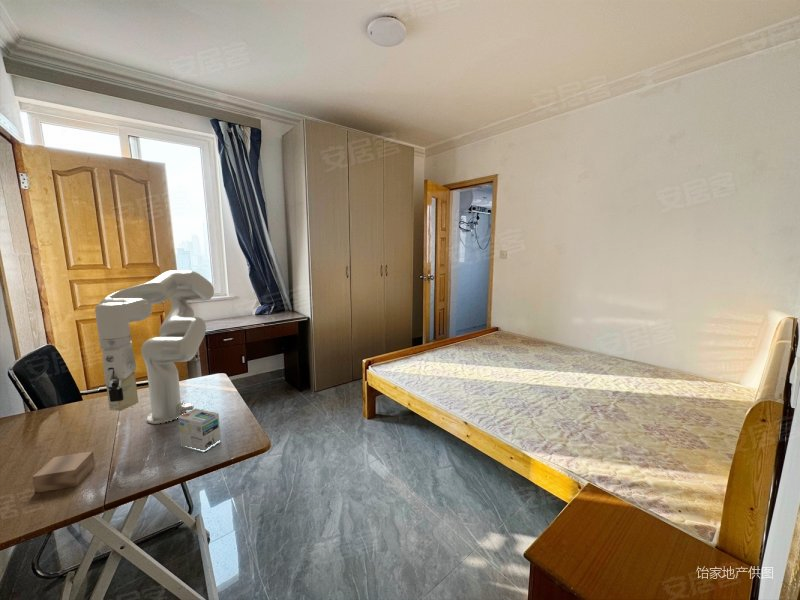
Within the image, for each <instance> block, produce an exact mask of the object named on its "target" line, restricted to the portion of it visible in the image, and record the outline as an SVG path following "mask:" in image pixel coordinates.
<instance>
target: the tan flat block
mask: <svg viewBox="0 0 800 600" xmlns="http://www.w3.org/2000/svg"><path fill="white" fill-rule="evenodd" d="M94 455H95V454H94V451H86V452H79V453H72V454H64V455H60V456H59V455H58V456H54V457H53V458H51V459H50V460H49V461H48V462H47V463H46V464H45V465H44V466H43V467H41V468H40V469H39V470H38V471H36V472H35V474H34V475H33V476H32V484H33V489H34V493H35V492H38V493H43V492H49V491H53V490H54V491H55V490H60V489H65V488H72V487H77V486H79V484H80V483H82V482H83V480H84V479H85V478H86V477H87V475H88V474H89V473H90V472H91V471H92V470H93V469H94V468H95V467H96V463H95V457H94Z"/></svg>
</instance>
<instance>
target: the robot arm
mask: <svg viewBox="0 0 800 600" xmlns="http://www.w3.org/2000/svg"><path fill="white" fill-rule="evenodd" d="M214 292H215V289H214V287H213V284H212V282H211V281H209V280H208V279H206V278H205V277H204V276H203V275H201V274H199V273H198V272H196V271H193V270H167V271H164V272H163V273H160V274H158V275H157V276H155V277H154V278H152V279H150V280H149V281H147V282H145V283H141V284H137V285H133V286H130V287H127V288H126V287H125V288H123V289H119V290H117V291H115V292H113V293H111V294H109V295H107V296H106V297H104V298H103V299H102V300H100V302H99V303H98V304H97V305H96V306H95V308H94V311H95V312H94V314H95V320H96V327H97V335H98V341H99V342H98V343H99V348H100V350H102V369H103V375H104V379H105V380H104V384H105V385H106V386H107V387H108V390H109V396H110V401H111V402H115V401H122V400H123V399H124V398H123V391H122V388H120V387H121V379H122V380H124V379H126V378H127V377H128V376H129V375H131V374H132V368H134V371H136V369H137V363H136V360H135V359H136V358H135V352H134V349H133V346H132V345H133V343H132V336H131V335H132V334H131V327H130V323H133V322H139V321H140V322H141V321H144V320H146V319H148V318H149V317H150V316H151V314H152V312H153V306H152V305H157V304H160V303H163V302H165V301H166V300H168V299H169V302H170V306H171V308H170V311H169V313H168V314H167V315H166V317H165V318H164V320H163V322H161V323H162V324H161V325H160V327H159V330H158V334H159V336H154V337H151V338H148V339H147V340H146V341H144V342H143V343H142V345H141V346H142V347H141V349H140V350H141V352H140V353H141V356H142V359H143V361H144V364H145V368H146V373H147V374H146V375H147V382H148V391H149V402H150V411H151V413H149V414H148V415H147V417H146V421H147V423H149V424H153V425H157V424H158V425H159V424H160V423H161V424H166V423H165V422H167V423H169V422H168V421H170V420H173V419H176V418H177V417H179V416H181V415H182V414H184V413H185V411H186V412H187V411H192V410H194V409H195V408H194V407H195V406H194V404H192V402H190V403H184V400H183V399H182V398H181V390H180V377H179V370H178V368H177V366H176V364H175V363H182V362H188V361H189V362H190V361H192V360H193V358H194V357H195V356H196V354H197V352H198V350H199V348H200V346H201V344H202V342H203V339H204V338H205V336H206V330H207V325H206V322H205V320H204V319H202V318H201V317H197V316H194V315H195V312H194V309H193V308H192V307H191V305H190V304H189V303H188V301H189V302H192V301H193V302H195V301H196V302H197V301H202V302H203V301H209V300H211V299H212V298H213V296H214ZM115 375H116V376H117V378H118V379H113V377H115ZM113 381H117V384H116V383H113ZM106 386H105V387H106ZM107 387H106V388H107ZM181 399H182V400H181ZM176 420H177V419H176Z"/></svg>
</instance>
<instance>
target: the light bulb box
mask: <svg viewBox="0 0 800 600" xmlns="http://www.w3.org/2000/svg"><path fill="white" fill-rule="evenodd" d="M177 420H178V426H179V427H178V428H179V430H178V431H179V438H180V446H181V445H182V446H187V447H192V448H196V449H200V450H206V449H207V448H208V447H210V446H211V445H213V444H215V443H216V442H217V441H219V440H220V439H222V438H221V428H220V426H221V425H220V415H219V412H215V411H214V412H213V411H208V410H203V409H198V408H193V410H188V411H186V413H185V414H183V415H181V416H179V417H178V419H177Z"/></svg>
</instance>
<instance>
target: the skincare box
mask: <svg viewBox="0 0 800 600" xmlns="http://www.w3.org/2000/svg"><path fill="white" fill-rule="evenodd" d="M135 371H136V370H135ZM135 371H134V368H132V374H131V375H129V376H128V377H127V378H126V379H124V380H122V379H121V387H120V388H122V391H123V398H124V399H123V400H122V401H115V402H111V401H110V396H109V390H108V387H107V386H105V387H106V392H107V400H108V409H109V411H117V412H118V411H119V412H121V411H125V410H126V409H129V408H131V407H132V406H135V405H137V404H138V403H139V397H138V388H137V381H136V380H137V379H136V372H135ZM113 379H118V378H117V376H116V375H115V377H113ZM113 383H116V384H117V381H113Z"/></svg>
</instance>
